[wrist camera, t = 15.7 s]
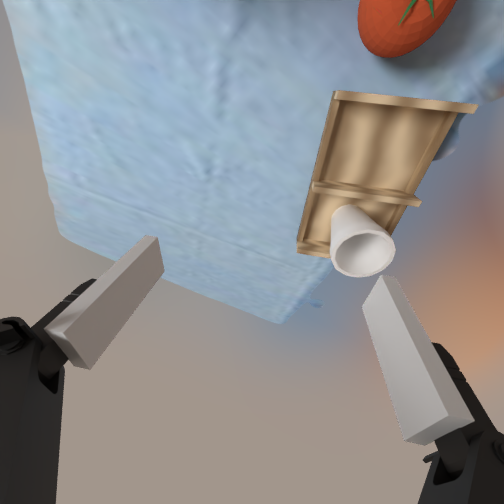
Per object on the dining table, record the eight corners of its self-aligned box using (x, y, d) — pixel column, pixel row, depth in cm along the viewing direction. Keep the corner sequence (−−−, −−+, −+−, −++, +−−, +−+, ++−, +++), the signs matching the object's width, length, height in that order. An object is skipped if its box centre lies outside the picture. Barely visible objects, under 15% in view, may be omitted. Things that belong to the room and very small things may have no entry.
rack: (296, 238, 51) (296, 252, 46) (333, 91, 35) (339, 90, 30) (375, 250, 50) (383, 267, 45) (452, 103, 33) (478, 104, 28)
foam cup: (313, 221, 47) (319, 257, 36) (347, 187, 42) (365, 218, 31) (346, 245, 49) (359, 285, 38) (382, 215, 44) (409, 252, 33)
